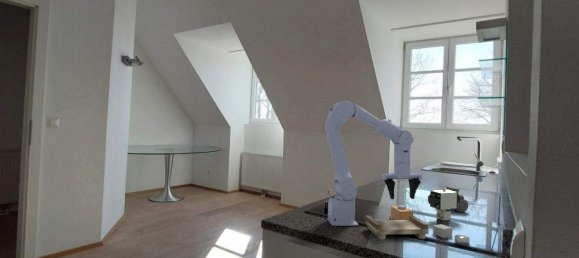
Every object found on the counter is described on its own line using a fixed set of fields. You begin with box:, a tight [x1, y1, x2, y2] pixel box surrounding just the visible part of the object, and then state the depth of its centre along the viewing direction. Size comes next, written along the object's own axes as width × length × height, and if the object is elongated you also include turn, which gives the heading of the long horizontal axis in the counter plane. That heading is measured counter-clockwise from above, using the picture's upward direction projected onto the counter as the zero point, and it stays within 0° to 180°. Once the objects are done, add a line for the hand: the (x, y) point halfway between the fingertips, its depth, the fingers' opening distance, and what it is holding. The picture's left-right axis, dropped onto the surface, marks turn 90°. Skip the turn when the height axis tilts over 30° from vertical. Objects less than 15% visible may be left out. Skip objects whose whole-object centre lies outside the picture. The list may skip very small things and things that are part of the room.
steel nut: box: [454, 234, 471, 246], centre depth 95 cm, size 4×4×2 cm
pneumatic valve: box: [427, 187, 460, 222], centre depth 121 cm, size 6×12×12 cm, turn 108°
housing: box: [388, 204, 414, 220], centre depth 116 cm, size 5×10×6 cm, turn 5°
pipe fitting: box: [446, 185, 469, 214], centre depth 136 cm, size 12×8×10 cm
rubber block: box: [432, 223, 453, 239], centre depth 102 cm, size 4×4×3 cm
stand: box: [365, 215, 430, 240], centre depth 103 cm, size 17×10×4 cm, turn 95°
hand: (402, 198), depth 116 cm, fingers open, 7 cm apart
